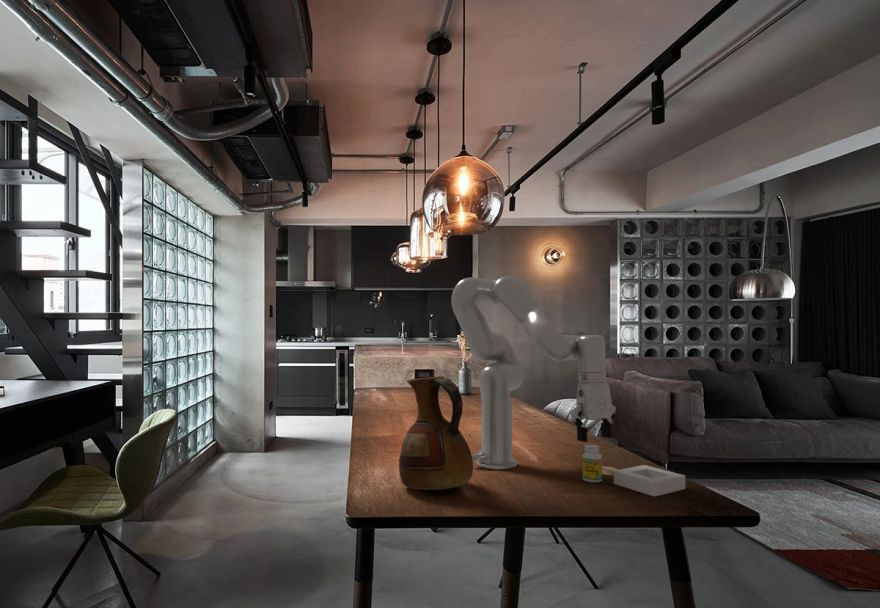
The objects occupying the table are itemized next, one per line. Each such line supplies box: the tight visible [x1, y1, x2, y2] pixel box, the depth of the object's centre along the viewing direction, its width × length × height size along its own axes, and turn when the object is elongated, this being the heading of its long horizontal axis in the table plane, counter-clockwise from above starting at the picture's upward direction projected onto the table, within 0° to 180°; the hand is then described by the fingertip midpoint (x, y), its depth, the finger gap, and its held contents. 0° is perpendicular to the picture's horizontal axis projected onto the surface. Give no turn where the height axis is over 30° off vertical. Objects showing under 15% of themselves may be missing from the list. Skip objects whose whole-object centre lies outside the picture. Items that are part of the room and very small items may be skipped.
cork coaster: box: [602, 465, 620, 476], centre depth 162 cm, size 9×9×1 cm
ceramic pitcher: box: [398, 375, 474, 491], centre depth 144 cm, size 20×20×30 cm
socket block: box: [613, 464, 686, 497], centre depth 147 cm, size 13×13×4 cm
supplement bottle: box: [581, 444, 603, 483], centre depth 152 cm, size 5×5×10 cm
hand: (594, 439), depth 152 cm, fingers open, 9 cm apart
